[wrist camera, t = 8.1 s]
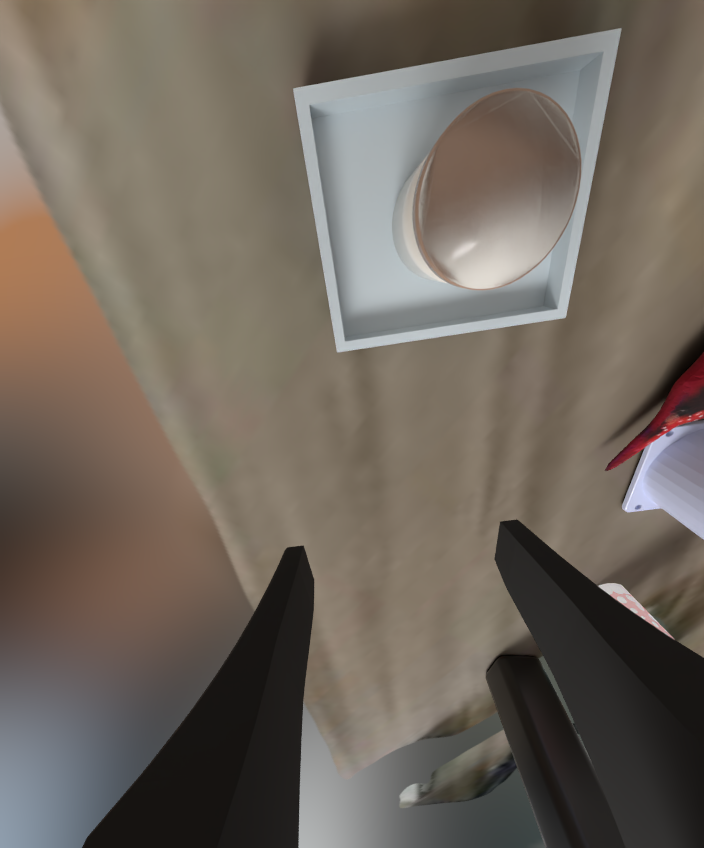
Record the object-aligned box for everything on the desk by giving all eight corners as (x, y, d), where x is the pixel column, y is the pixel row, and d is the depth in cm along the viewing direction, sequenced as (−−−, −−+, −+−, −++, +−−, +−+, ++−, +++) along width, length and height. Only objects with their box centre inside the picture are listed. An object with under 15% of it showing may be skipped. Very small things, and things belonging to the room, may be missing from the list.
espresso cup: (502, 142, 13) (600, 70, 8) (493, 272, 15) (563, 277, 10) (386, 164, 13) (412, 107, 8) (395, 289, 16) (420, 301, 11)
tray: (581, 61, 12) (621, 28, 11) (542, 312, 17) (565, 317, 15) (299, 112, 13) (292, 88, 11) (337, 343, 18) (337, 352, 16)
